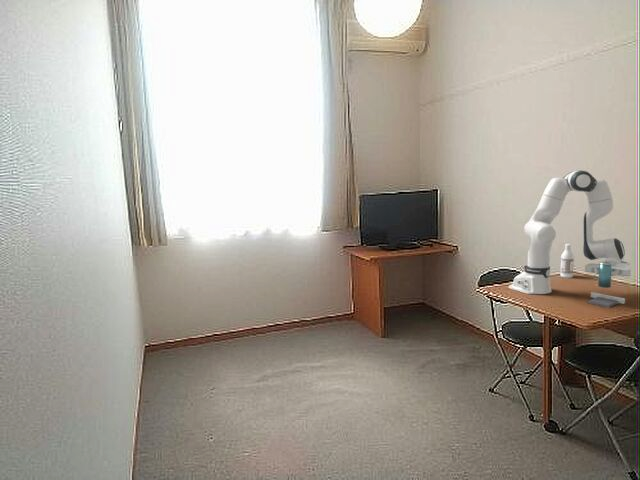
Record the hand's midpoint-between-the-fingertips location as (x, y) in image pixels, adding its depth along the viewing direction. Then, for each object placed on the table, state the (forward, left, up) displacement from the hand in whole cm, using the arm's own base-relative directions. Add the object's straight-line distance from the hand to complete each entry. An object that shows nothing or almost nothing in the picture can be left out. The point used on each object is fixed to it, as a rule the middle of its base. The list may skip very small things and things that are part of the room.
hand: (604, 273), depth 242 cm
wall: (-1, +7, -16) cm, 18 cm away
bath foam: (-39, +39, -16) cm, 58 cm away
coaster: (0, +1, -16) cm, 16 cm away
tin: (0, +1, -7) cm, 7 cm away
